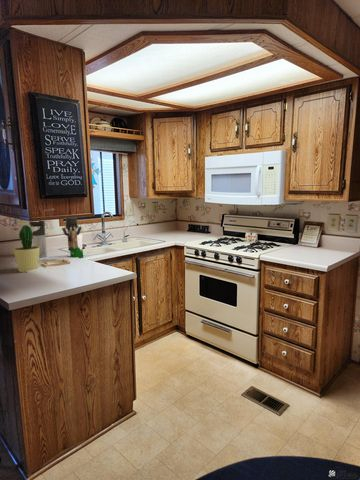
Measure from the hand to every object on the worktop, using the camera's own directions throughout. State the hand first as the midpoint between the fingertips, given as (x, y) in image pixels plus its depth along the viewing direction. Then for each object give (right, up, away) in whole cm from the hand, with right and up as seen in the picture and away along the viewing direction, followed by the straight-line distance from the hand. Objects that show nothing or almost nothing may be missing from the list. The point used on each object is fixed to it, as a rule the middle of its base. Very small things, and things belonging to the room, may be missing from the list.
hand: (72, 241), depth 224 cm
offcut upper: (-11, -16, -6) cm, 20 cm away
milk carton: (-3, -13, +20) cm, 24 cm away
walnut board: (0, -4, +1) cm, 4 cm away
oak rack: (-9, -17, -7) cm, 21 cm away
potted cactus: (-22, -19, -19) cm, 35 cm away
